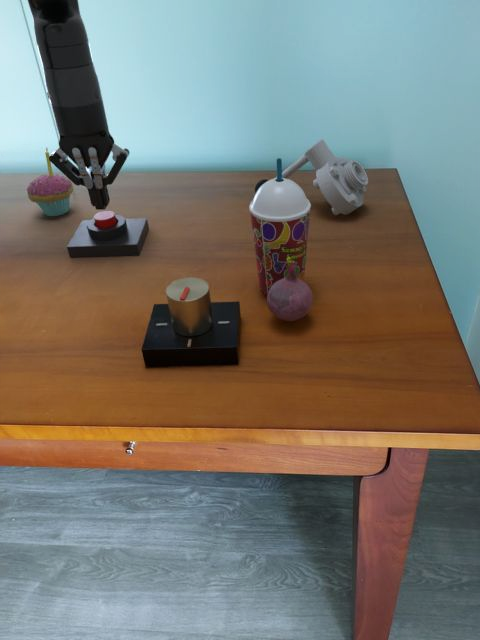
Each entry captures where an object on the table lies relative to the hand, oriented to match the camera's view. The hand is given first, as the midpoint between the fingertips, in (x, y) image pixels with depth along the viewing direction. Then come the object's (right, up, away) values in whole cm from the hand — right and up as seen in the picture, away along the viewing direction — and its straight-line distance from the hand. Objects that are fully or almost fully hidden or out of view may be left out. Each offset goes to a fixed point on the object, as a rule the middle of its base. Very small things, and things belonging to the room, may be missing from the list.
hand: (101, 207), depth 89 cm
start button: (0, -2, +2) cm, 3 cm away
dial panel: (+18, -23, -18) cm, 34 cm away
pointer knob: (+18, -21, -20) cm, 34 cm away
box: (0, -5, +5) cm, 7 cm away
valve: (+36, +4, +13) cm, 39 cm away
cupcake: (-14, +3, +16) cm, 21 cm away
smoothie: (+30, -15, -9) cm, 35 cm away
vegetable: (+31, -20, -15) cm, 40 cm away
